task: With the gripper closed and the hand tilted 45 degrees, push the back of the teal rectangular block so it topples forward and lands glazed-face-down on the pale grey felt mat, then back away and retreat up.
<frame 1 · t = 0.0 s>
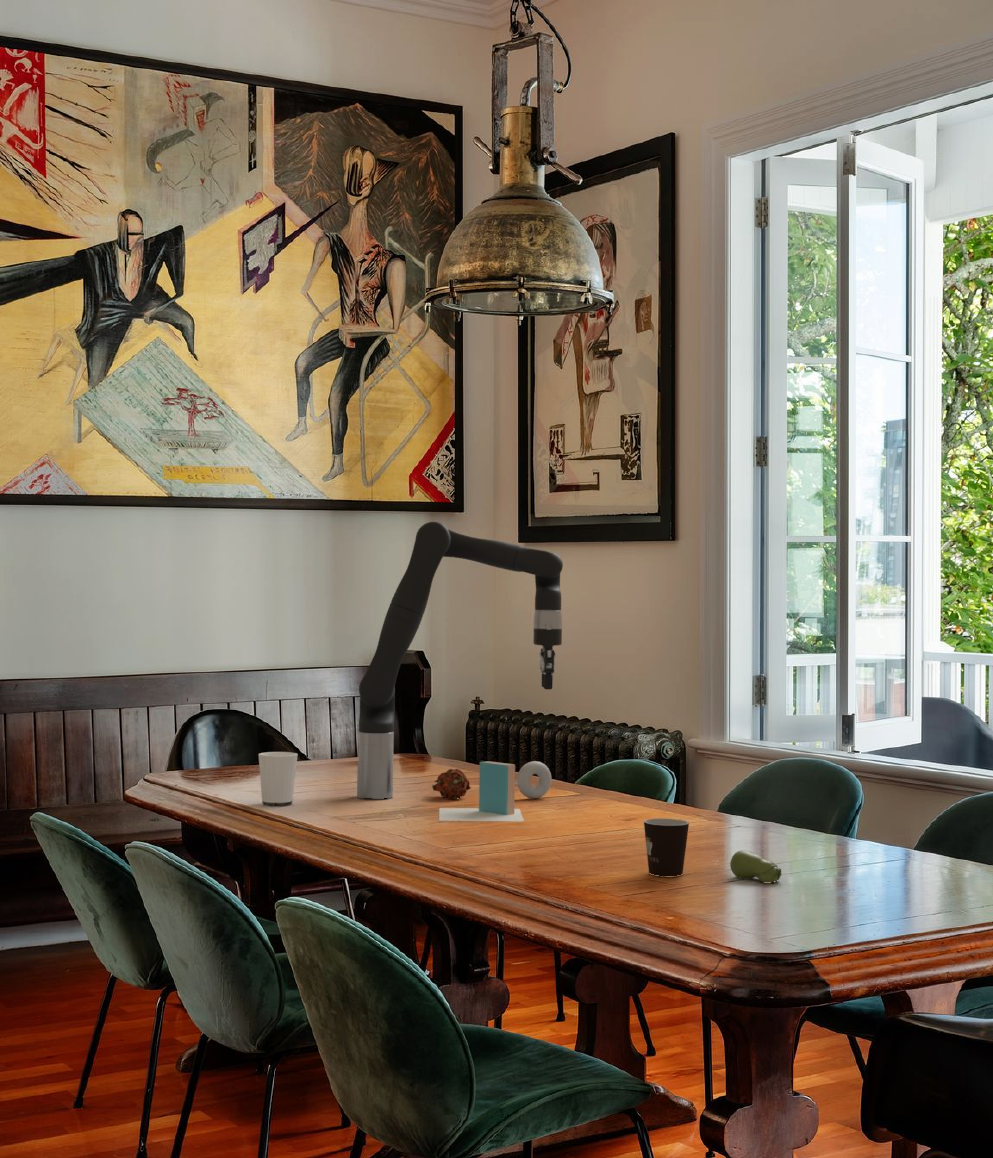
hand: (546, 688, 362), 29 cm above the table, tool pointing down, fingers open, 8 cm apart
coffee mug: (666, 873, 263), on the table
pear: (755, 881, 257), on the table
cup: (277, 805, 344), on the table
brown textured round lump: (451, 798, 360), on the table
felt mat: (480, 816, 330), on the table
teal rectangular block: (496, 812, 334), resting on felt mat
donut: (534, 799, 361), on the table
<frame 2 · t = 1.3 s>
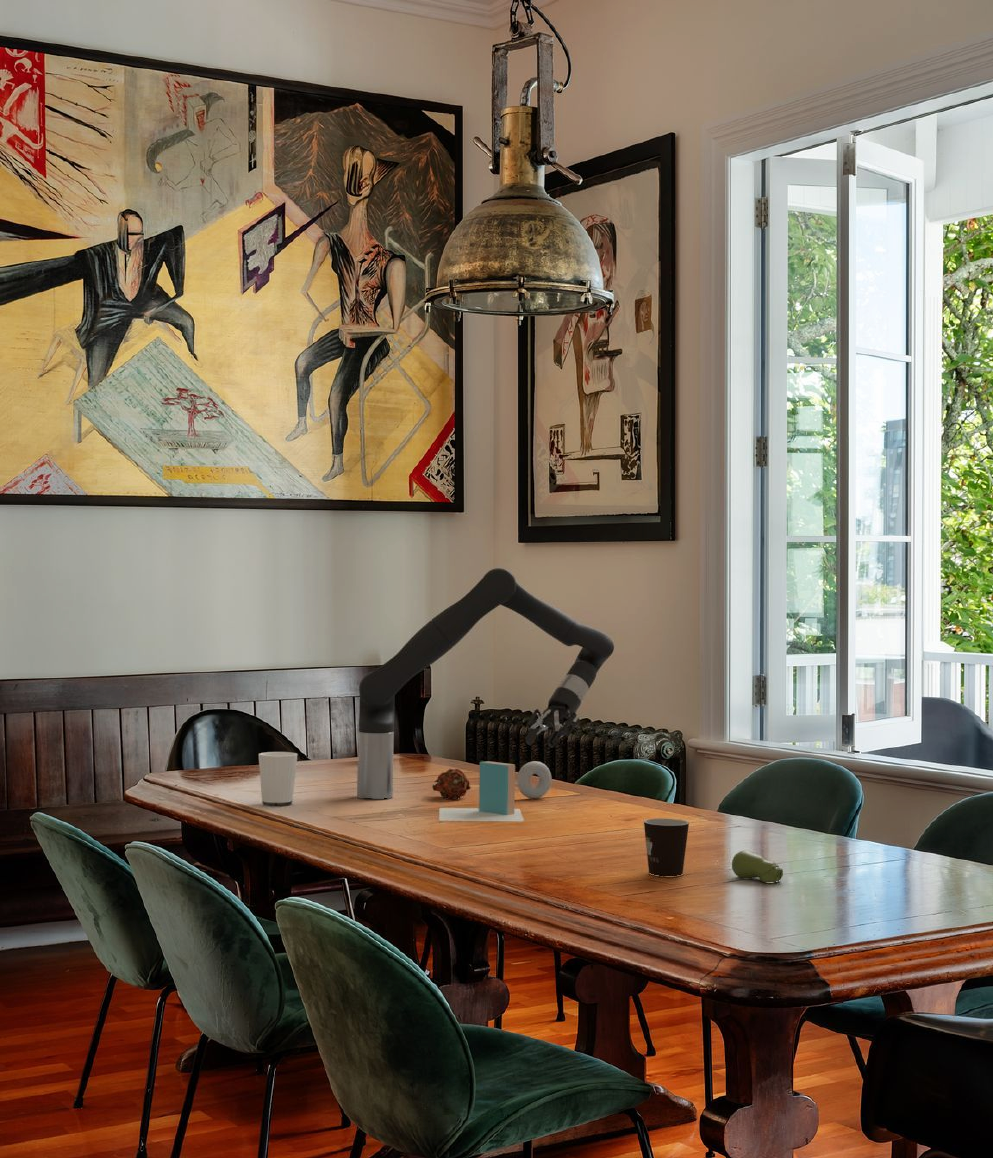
hand: (538, 744, 345), 16 cm above the table, tool tilted 45°, fingers open, 7 cm apart
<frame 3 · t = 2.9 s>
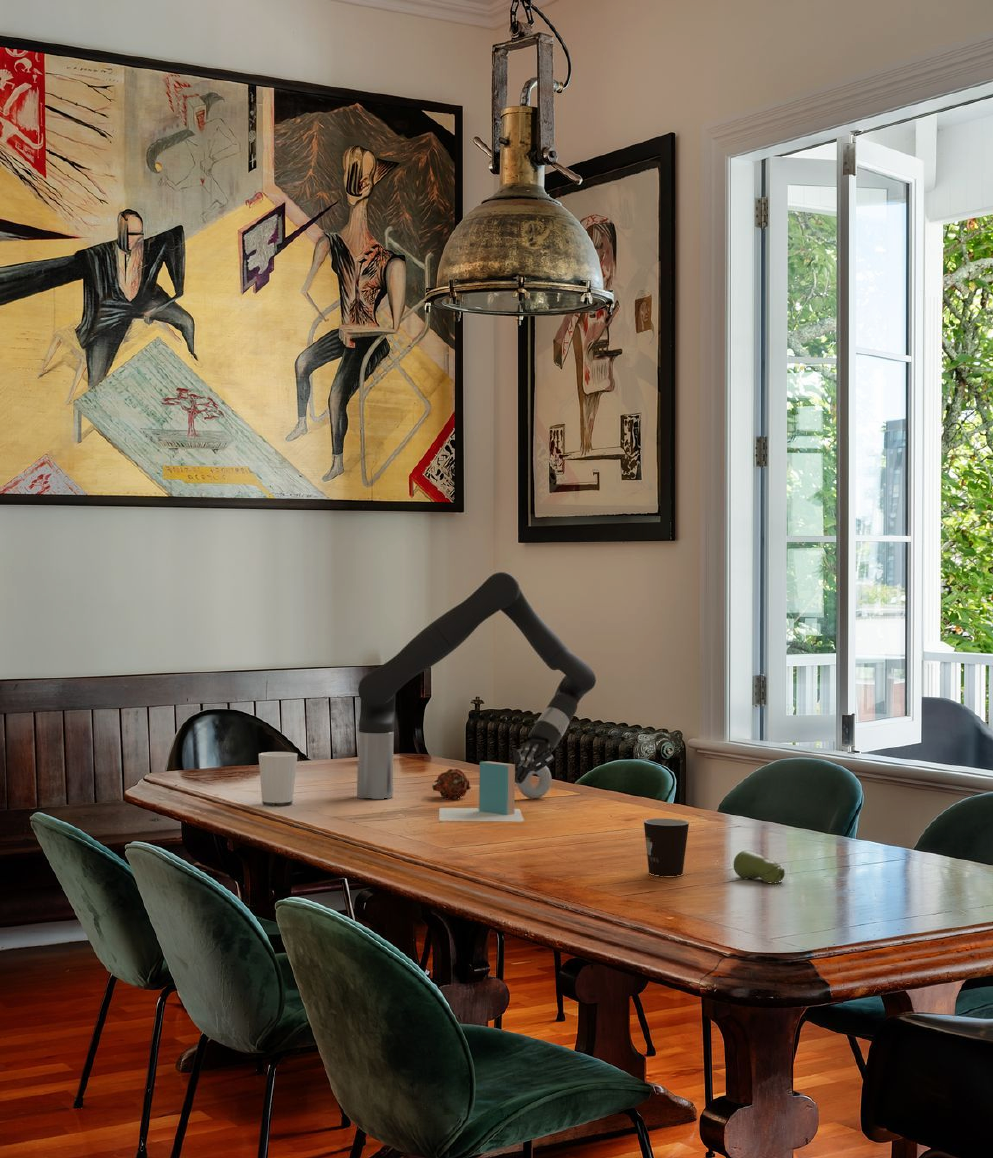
hand: (516, 781, 339), 7 cm above the table, tool tilted 45°, fingers closed
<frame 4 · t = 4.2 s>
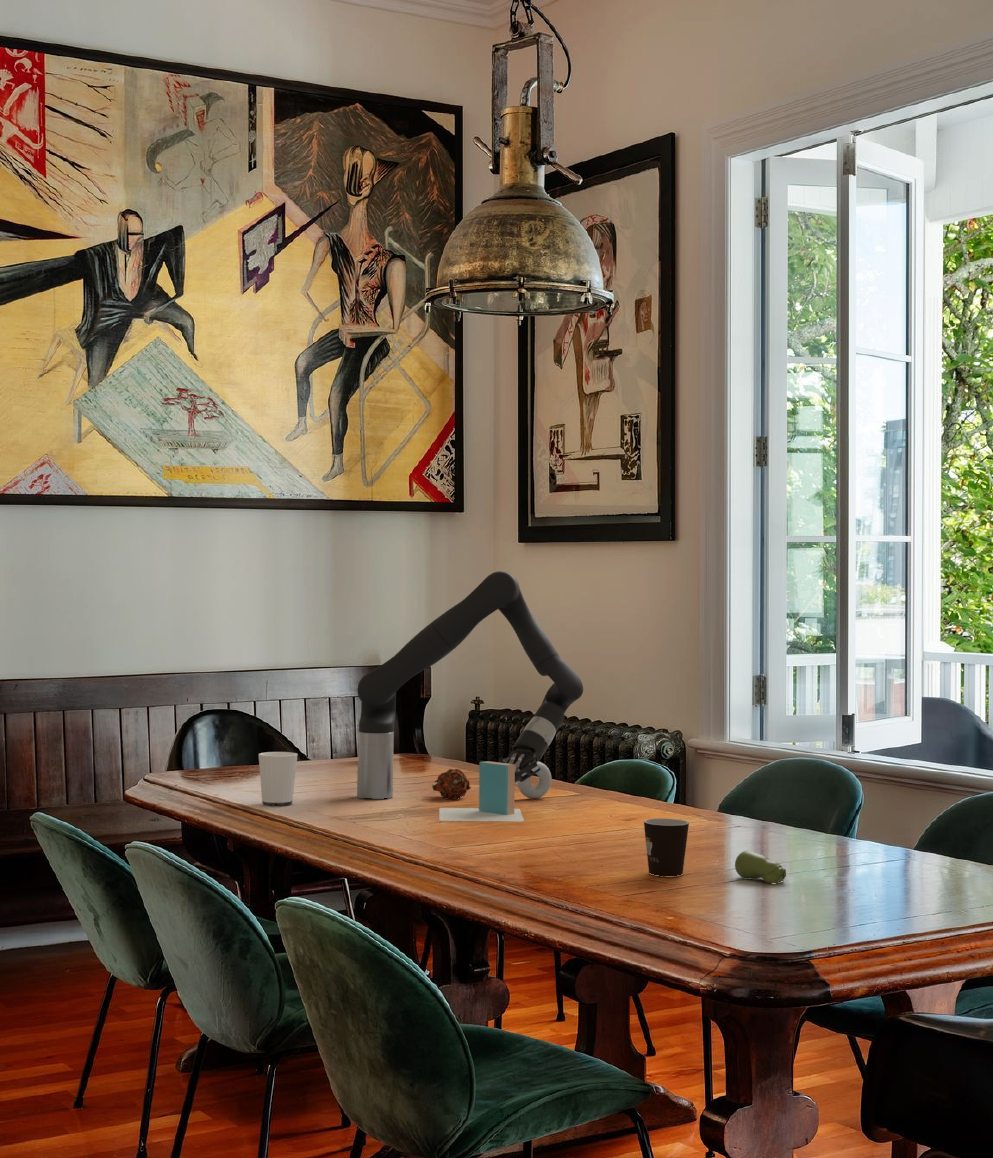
hand: (502, 791, 335), 5 cm above the table, tool tilted 45°, fingers closed
teal rectangular block: (496, 812, 334), resting on felt mat, touching gripper
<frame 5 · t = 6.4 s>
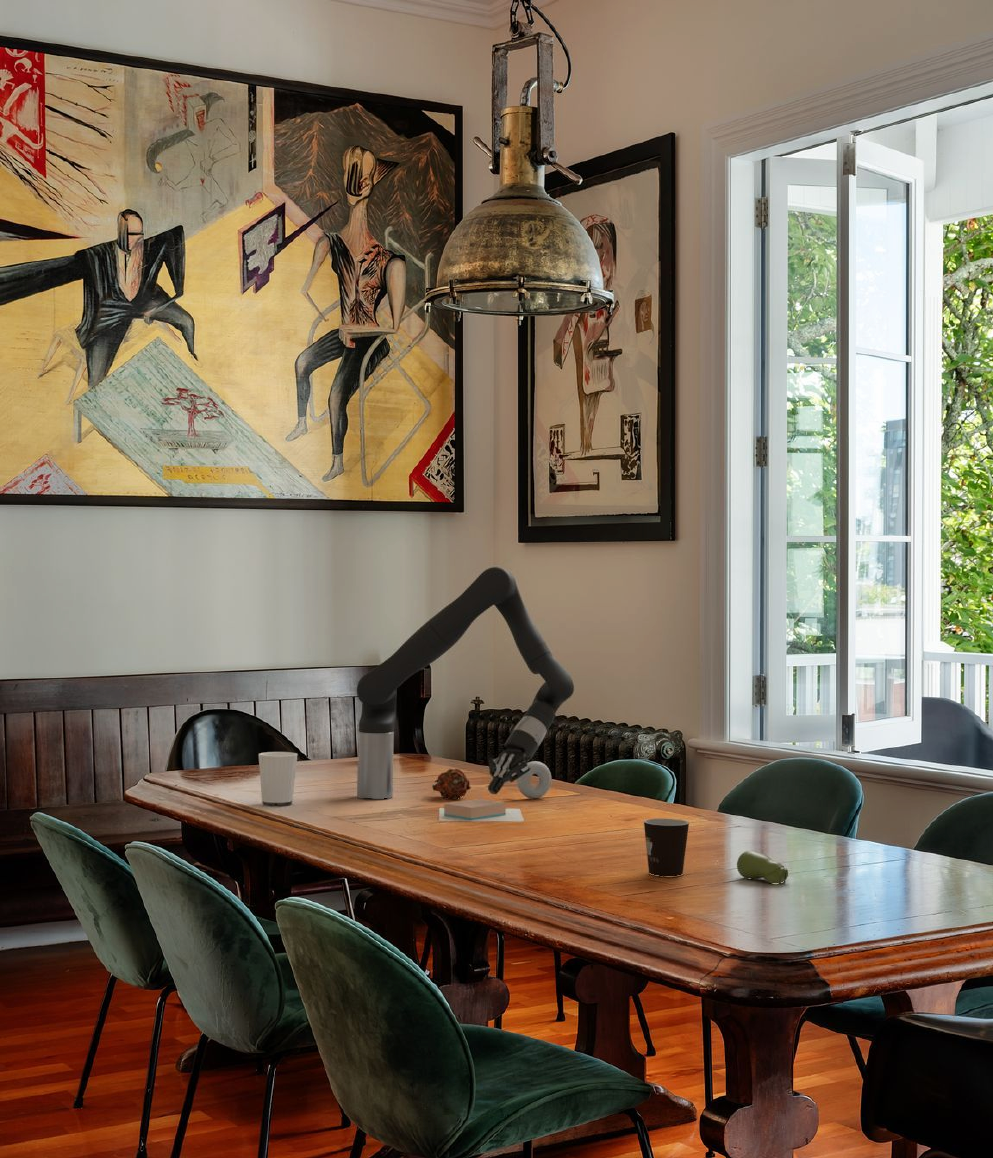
hand: (491, 791, 332), 6 cm above the table, tool tilted 45°, fingers closed
teal rectangular block: (492, 806, 332), point 2 cm above the table, tilted 90°, touching felt mat
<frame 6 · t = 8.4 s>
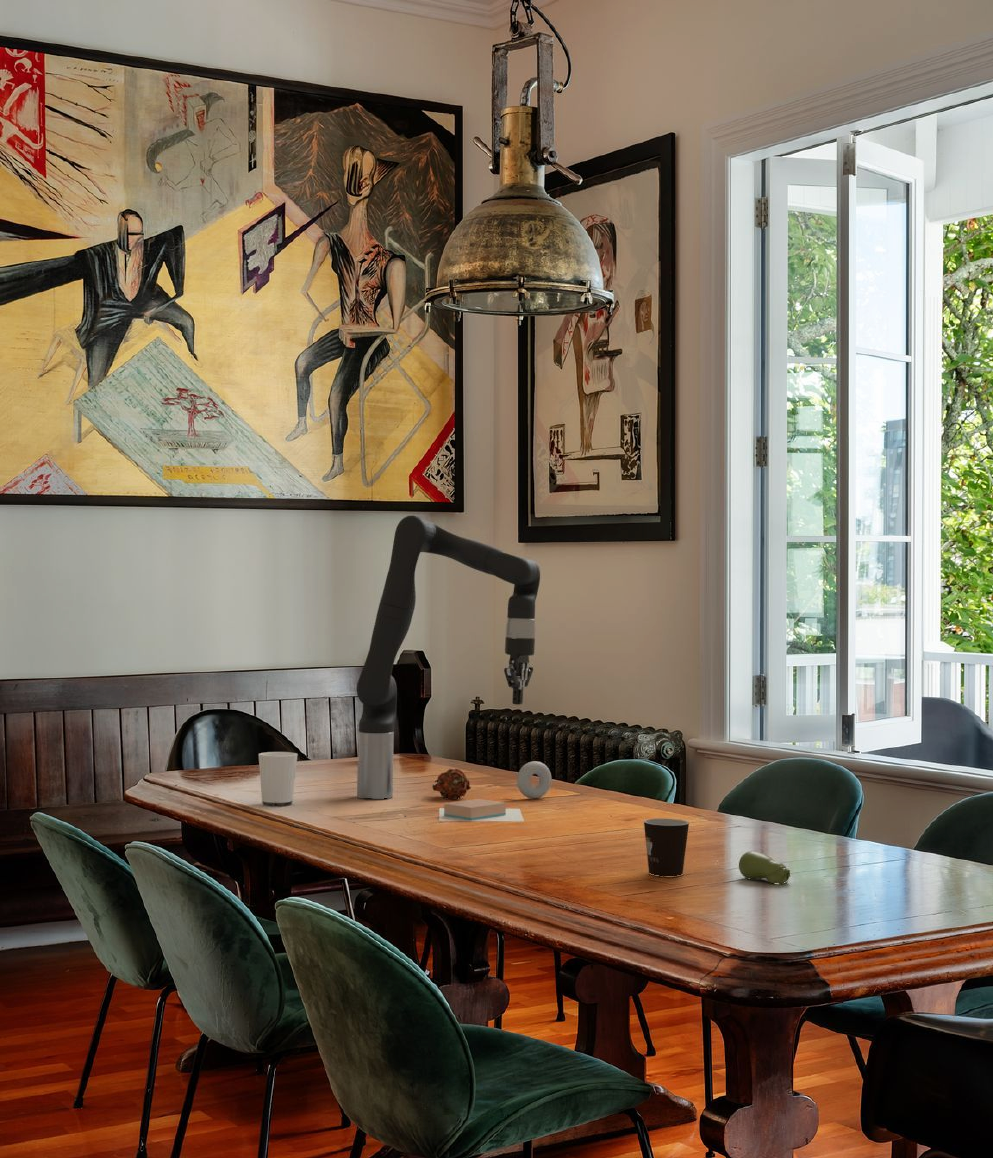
hand: (517, 704, 347), 26 cm above the table, tool pointing down, fingers closed
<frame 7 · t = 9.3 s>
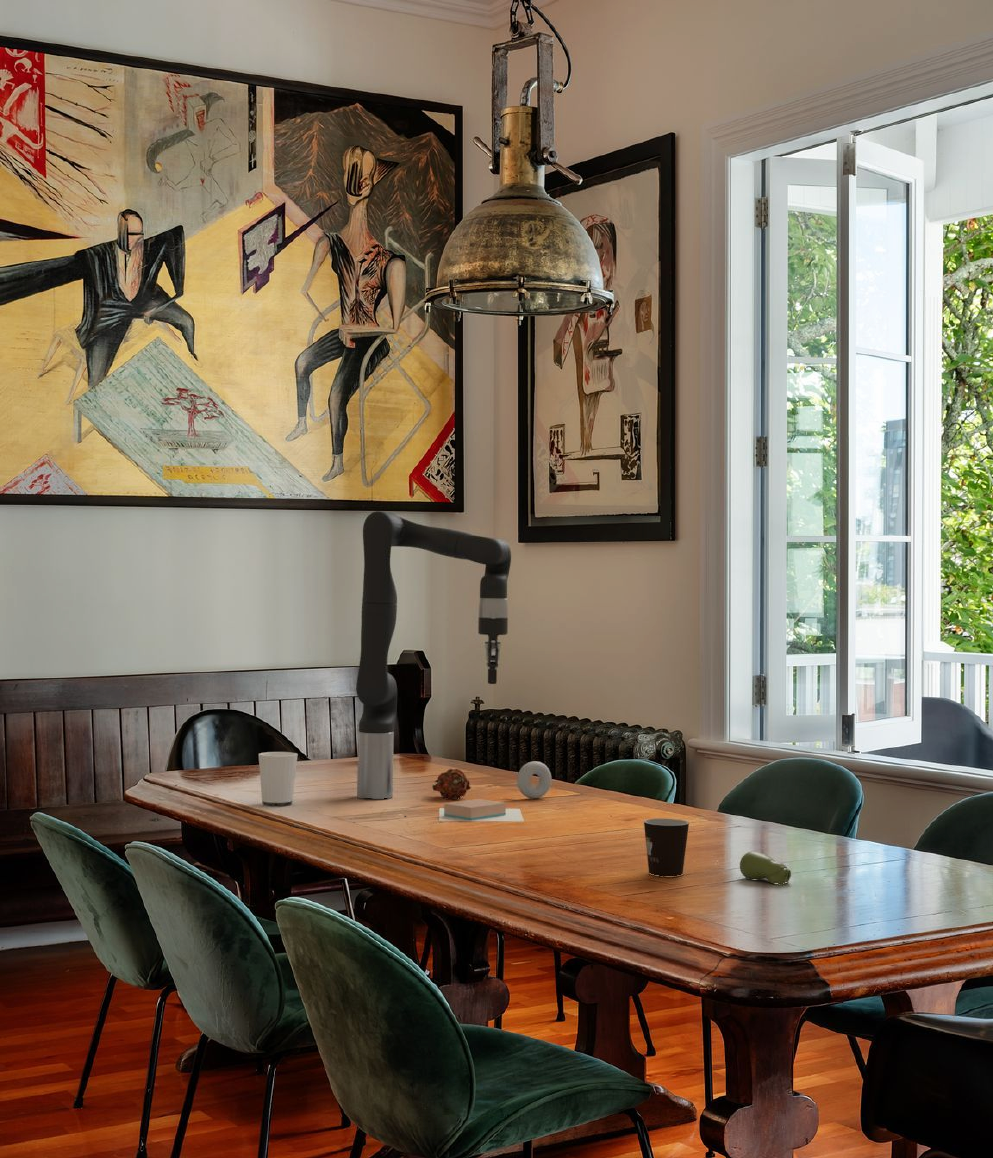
hand: (492, 683, 349), 31 cm above the table, tool pointing down, fingers closed
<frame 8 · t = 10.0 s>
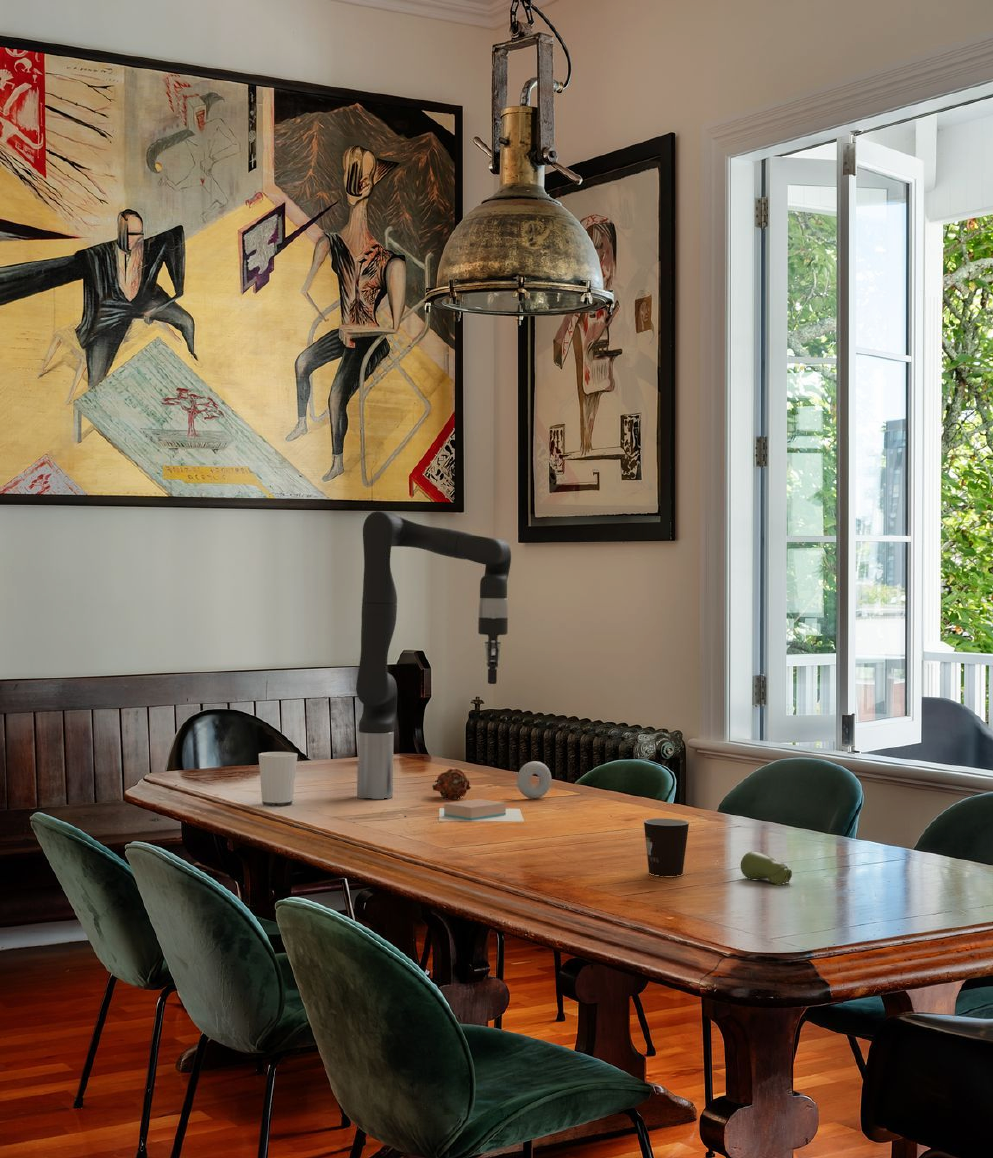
hand: (492, 683, 349), 31 cm above the table, tool pointing down, fingers closed
at the end: teal rectangular block tilted 90°; teal rectangular block inside the target area on the felt mat (3.6 cm from its centre), point 1.9 cm above the felt mat's base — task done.
